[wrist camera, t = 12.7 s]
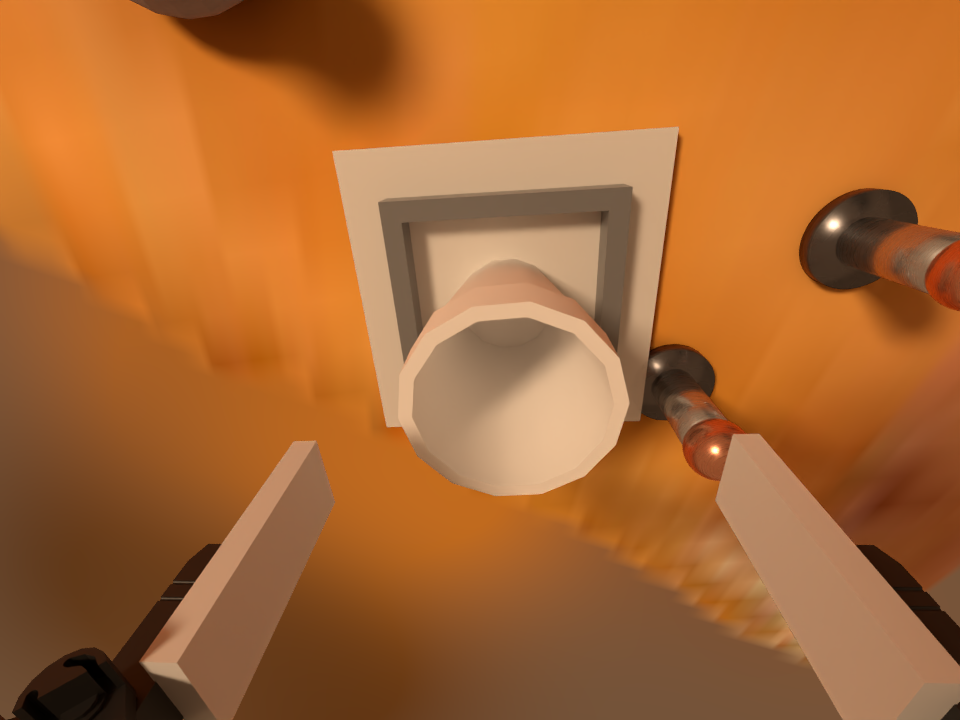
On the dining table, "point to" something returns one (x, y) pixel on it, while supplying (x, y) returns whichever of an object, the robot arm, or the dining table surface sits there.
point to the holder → (510, 232)
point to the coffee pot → (188, 7)
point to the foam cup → (512, 385)
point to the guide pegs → (828, 260)
